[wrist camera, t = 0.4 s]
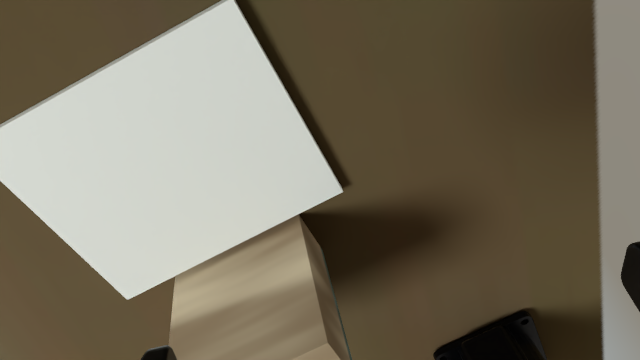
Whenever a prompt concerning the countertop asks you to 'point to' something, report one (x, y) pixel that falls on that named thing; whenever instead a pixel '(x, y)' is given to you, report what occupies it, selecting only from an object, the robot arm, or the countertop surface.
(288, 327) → the beige and teal box
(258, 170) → the flat white panel
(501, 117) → the countertop surface
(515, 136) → the countertop surface
